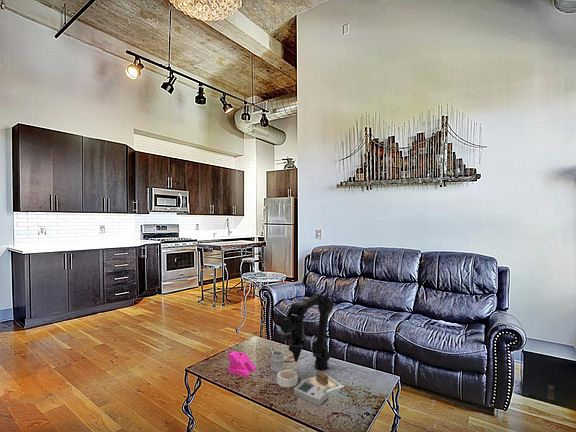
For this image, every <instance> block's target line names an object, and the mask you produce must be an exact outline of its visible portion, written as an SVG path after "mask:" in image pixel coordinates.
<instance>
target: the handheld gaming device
mask: <svg viewBox="0 0 576 432" xmlns="http://www.w3.org/2000/svg"><path fill="white" fill-rule="evenodd" d="M293 395H294V396H296V397H298V398H301V399H303V400H305V401H307V402H309V403H312V404H315V405H316V406H319V407H320V406H321V405H323V403H325V401H326V400H327V399H328V397H329V392H327V391H326V390H325V389H323V388H321V387H319V386H317V385H314V384H312V383H309V382H307V381H303V382H302V381H301V382H300V383H299V384H298V385H296V386H294V388H293Z"/></svg>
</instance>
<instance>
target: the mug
mask: <svg viewBox="0 0 576 432" xmlns="http://www.w3.org/2000/svg"><path fill="white" fill-rule="evenodd" d="M284 360H285V358H284V352H283V351H281V350H273V347H272V345H270V346H269V349H268V352H267V361H266V362H267V363H268V365H269V366H270V371H271V373H273V374H278V373H279V372H280V371H283V370H285V364H284Z"/></svg>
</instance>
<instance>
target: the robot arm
mask: <svg viewBox="0 0 576 432" xmlns="http://www.w3.org/2000/svg"><path fill="white" fill-rule="evenodd" d="M316 305H317V309H318V312H319V319H318V328H317V333H316V334H317V336H316V339H315V341H314V342H312V346H311V351H312V352H311V353H312V355H313V357H314V358H315V360H314V363H315V364H314V368H315V369H317V370H318V371H321V372H323V371H325V370H329V369H330V367H328V363H329V362H328V361H329V360H330V359H331V355H332V354H331V353H330V352H329V351H328V344H327V342H326V340H327V339H326V337H327V332H328V330H327V329H328V323H329V322H328V321H329V315H330V314H331V313H332V311H333V307H334V302H333V300H332V299H329V298H327V297H326V296H324V294H321V293H317V292H316V293H314V294H313V295H311V296H310V297H308V298H307V299H305V300H303V301H300V302H299V301H297V302H293V303H292V304H291V305H290V307H289V310H288V312H287V314H286V318H284V319H283V321H282V322H281V323H280V330H281V332H282V334H281V339H280V340H281V341H282V343H286V342H288V341H290V342H291V343H289V346H288V351H290V352H291V353H292V355H293V359H294V362H296V363H297V362H298V360H299V357H300V355H301V354H302V353H301V352H302V350H303V348H304V344H305V341H306V334H305V332H304V319H306V316H305V314H307V312H308V310H309V309H311V308H312V307H314V306H316Z"/></svg>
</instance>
